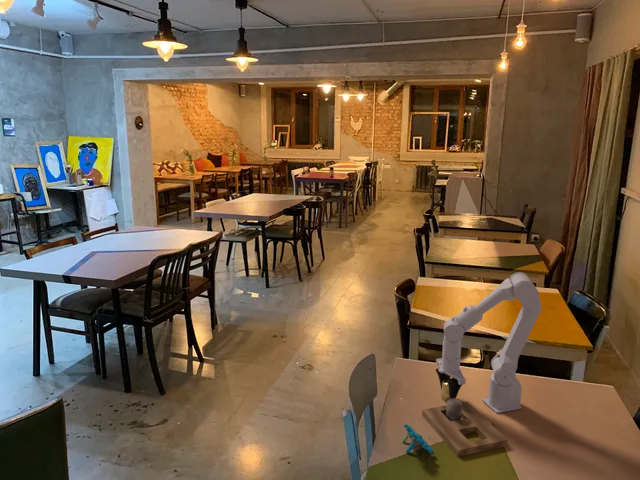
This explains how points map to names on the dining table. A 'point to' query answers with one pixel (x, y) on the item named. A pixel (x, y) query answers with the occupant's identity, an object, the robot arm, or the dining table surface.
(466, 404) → the walnut jig
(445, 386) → the brass sleeve
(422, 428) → the dining table surface
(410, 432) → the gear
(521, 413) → the dining table surface
